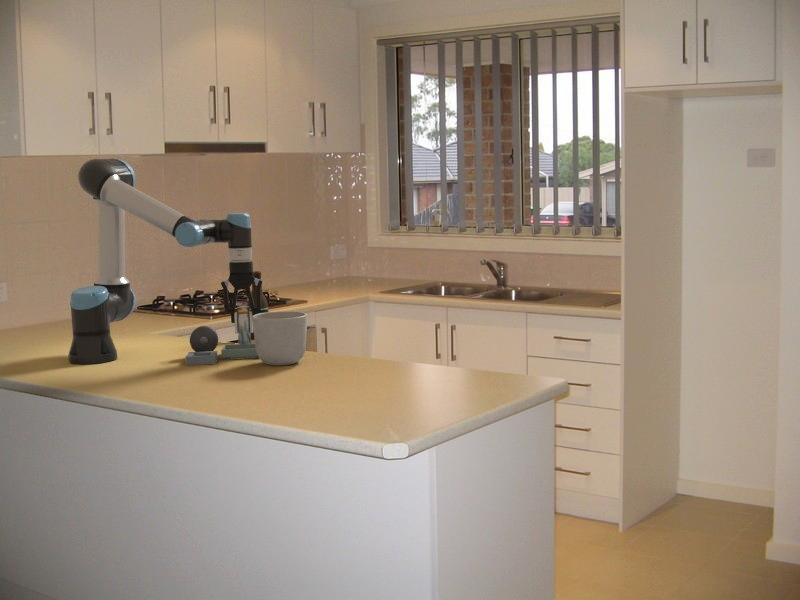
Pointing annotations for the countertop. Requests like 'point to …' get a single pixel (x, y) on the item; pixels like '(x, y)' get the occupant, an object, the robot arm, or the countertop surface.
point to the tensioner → (203, 346)
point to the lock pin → (243, 325)
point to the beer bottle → (254, 295)
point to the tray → (239, 351)
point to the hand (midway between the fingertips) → (244, 332)
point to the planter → (280, 336)
